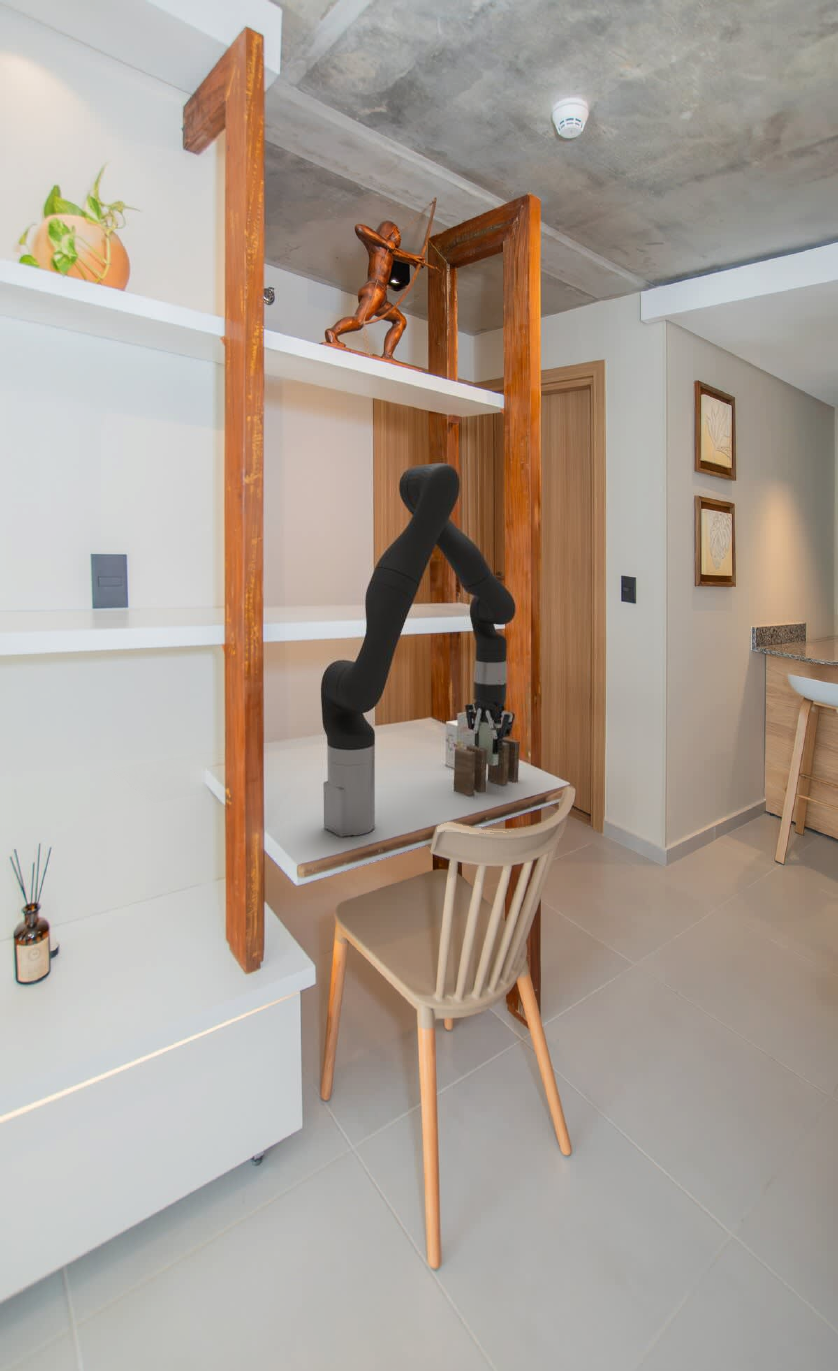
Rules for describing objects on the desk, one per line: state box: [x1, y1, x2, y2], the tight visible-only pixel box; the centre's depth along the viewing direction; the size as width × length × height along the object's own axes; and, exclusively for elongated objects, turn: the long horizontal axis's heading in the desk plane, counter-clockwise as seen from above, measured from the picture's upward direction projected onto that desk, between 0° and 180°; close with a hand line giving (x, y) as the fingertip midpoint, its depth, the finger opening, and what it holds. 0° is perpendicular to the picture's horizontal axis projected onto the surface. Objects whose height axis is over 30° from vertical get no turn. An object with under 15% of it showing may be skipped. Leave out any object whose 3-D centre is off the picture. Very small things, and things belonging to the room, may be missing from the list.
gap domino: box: [478, 721, 499, 766], centre depth 154 cm, size 2×5×10 cm, turn 41°
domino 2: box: [466, 745, 488, 794], centre depth 153 cm, size 2×5×10 cm, turn 41°
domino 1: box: [453, 748, 475, 797], centre depth 151 cm, size 2×5×10 cm, turn 41°
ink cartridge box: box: [445, 711, 475, 769], centre depth 171 cm, size 9×5×15 cm, turn 126°
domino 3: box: [487, 742, 509, 786], centre depth 158 cm, size 2×5×10 cm, turn 41°
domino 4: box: [503, 737, 521, 783], centre depth 160 cm, size 2×5×10 cm, turn 41°
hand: (488, 750), depth 155 cm, fingers closed on gap domino, 5 cm apart
